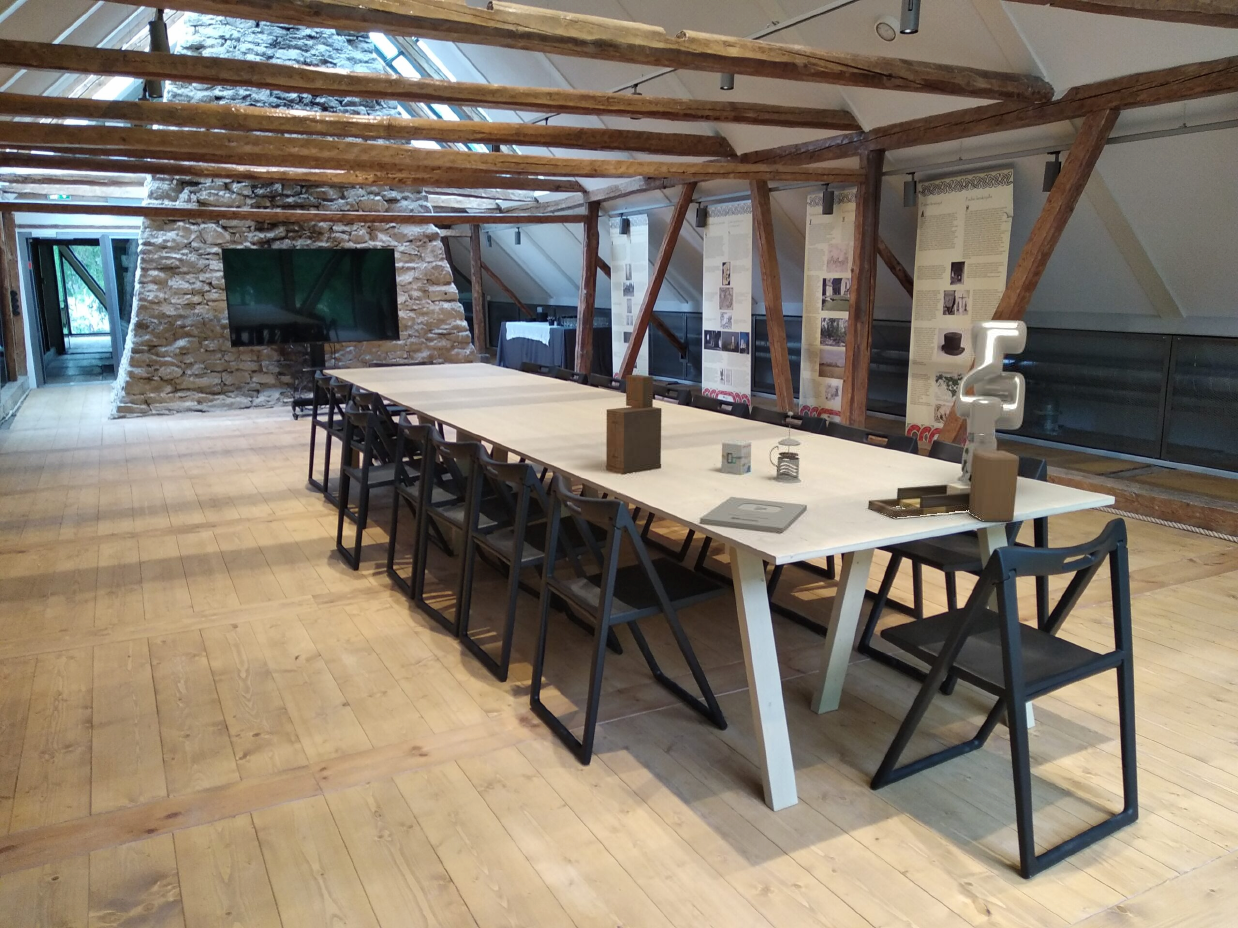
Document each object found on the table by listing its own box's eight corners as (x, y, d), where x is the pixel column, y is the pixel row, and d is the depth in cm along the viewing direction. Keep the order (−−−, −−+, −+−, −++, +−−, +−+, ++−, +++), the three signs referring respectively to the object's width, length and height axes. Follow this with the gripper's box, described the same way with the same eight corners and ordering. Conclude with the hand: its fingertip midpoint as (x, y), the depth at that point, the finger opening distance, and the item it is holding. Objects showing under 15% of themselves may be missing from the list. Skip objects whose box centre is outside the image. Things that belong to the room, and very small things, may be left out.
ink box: (731, 469, 331) (731, 439, 329) (751, 471, 327) (752, 441, 324) (720, 472, 325) (721, 442, 322) (741, 475, 320) (742, 444, 318)
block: (998, 513, 266) (1004, 449, 262) (1014, 522, 256) (1020, 456, 252) (966, 513, 266) (972, 450, 262) (981, 522, 256) (987, 456, 252)
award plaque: (699, 525, 253) (700, 518, 252) (730, 503, 279) (731, 496, 279) (782, 535, 243) (782, 527, 242) (806, 511, 269) (806, 504, 269)
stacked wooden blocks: (637, 462, 343) (638, 374, 336) (661, 468, 332) (662, 377, 325) (599, 468, 331) (599, 377, 324) (623, 474, 320) (623, 380, 313)
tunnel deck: (868, 508, 272) (869, 489, 270) (960, 500, 282) (962, 482, 281) (894, 519, 258) (896, 499, 257) (990, 510, 269) (992, 492, 268)
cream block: (946, 497, 275) (947, 484, 274) (961, 496, 277) (963, 483, 276) (958, 502, 270) (960, 488, 269) (974, 500, 271) (976, 487, 270)
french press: (801, 483, 306) (804, 414, 301) (768, 482, 309) (771, 413, 304) (801, 478, 316) (804, 410, 311) (769, 476, 318) (771, 409, 313)
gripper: (969, 441, 265) (964, 499, 269) (1008, 439, 270) (1002, 496, 273) (952, 437, 272) (948, 494, 276) (991, 435, 277) (986, 491, 280)
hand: (975, 494), depth 275 cm, fingers closed
